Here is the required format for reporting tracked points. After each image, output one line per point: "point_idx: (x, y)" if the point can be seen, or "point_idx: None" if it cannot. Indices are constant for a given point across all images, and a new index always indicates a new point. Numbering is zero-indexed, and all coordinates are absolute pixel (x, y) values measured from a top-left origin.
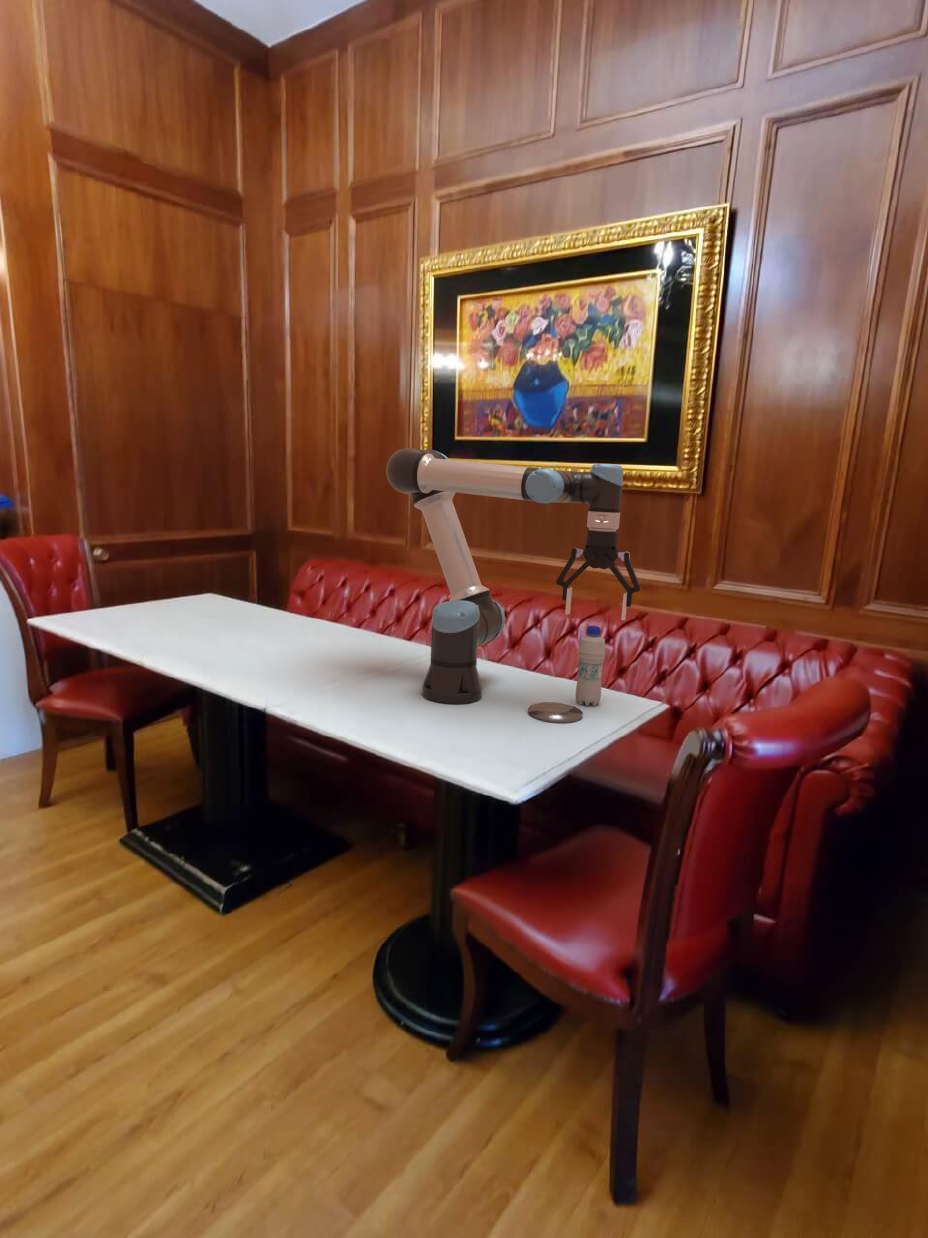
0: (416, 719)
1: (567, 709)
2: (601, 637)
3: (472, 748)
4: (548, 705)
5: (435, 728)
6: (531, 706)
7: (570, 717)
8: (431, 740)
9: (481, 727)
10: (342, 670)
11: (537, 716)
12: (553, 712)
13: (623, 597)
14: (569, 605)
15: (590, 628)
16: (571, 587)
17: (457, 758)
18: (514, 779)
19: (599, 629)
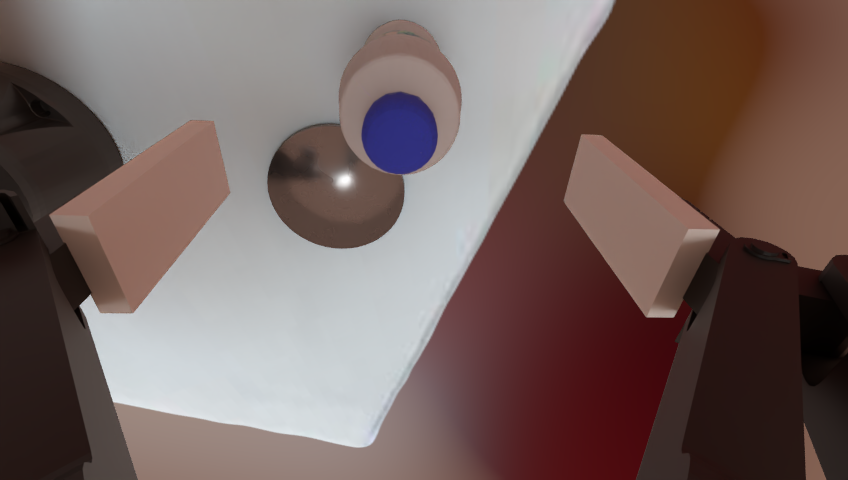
0: (104, 318)
1: (362, 171)
2: (443, 112)
3: (266, 380)
4: (309, 160)
5: (165, 340)
6: (273, 185)
7: (380, 222)
8: (195, 377)
9: (232, 310)
10: None
11: (311, 241)
12: (336, 205)
13: (630, 294)
14: (199, 201)
15: (385, 169)
16: (88, 228)
17: (264, 408)
18: (355, 427)
19: (433, 153)
